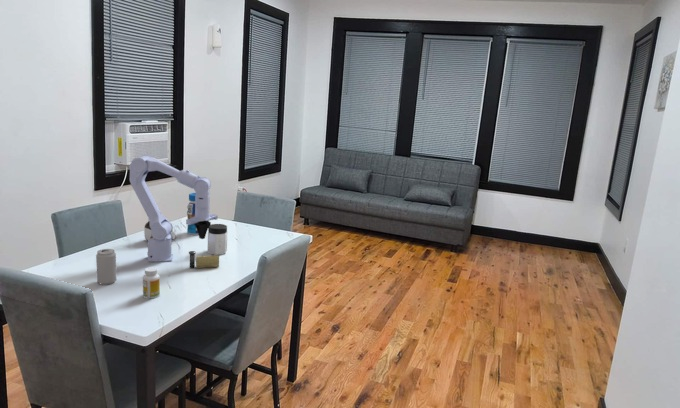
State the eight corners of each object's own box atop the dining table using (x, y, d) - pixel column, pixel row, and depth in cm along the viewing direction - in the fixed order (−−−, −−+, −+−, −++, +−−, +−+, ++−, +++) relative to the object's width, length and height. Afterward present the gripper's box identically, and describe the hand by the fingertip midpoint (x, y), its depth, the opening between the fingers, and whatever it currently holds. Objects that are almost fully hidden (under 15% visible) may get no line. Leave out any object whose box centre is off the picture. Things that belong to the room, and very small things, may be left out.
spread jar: (141, 241, 224) (141, 217, 222) (158, 235, 235) (157, 212, 232) (163, 246, 221) (163, 221, 218) (178, 239, 231) (178, 216, 229)
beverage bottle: (186, 230, 246) (187, 192, 242) (204, 230, 249) (204, 192, 244) (187, 235, 238) (187, 195, 234) (204, 235, 241) (205, 196, 237)
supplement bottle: (161, 292, 172) (161, 267, 170) (156, 299, 167) (156, 272, 164) (146, 291, 172) (145, 266, 169) (140, 298, 166) (140, 271, 164)
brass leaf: (196, 268, 196) (196, 257, 195) (196, 267, 197) (196, 256, 196) (219, 266, 200) (219, 255, 199) (218, 265, 201) (218, 254, 200)
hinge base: (188, 268, 196) (188, 253, 194) (188, 266, 199) (188, 250, 197) (218, 267, 199) (219, 252, 198) (218, 265, 202) (218, 250, 201)
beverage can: (111, 277, 182) (110, 247, 179) (119, 282, 178) (118, 251, 175) (94, 281, 177) (92, 250, 174) (102, 286, 173) (101, 255, 170)
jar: (210, 255, 213) (211, 229, 210) (204, 250, 219) (204, 224, 217) (230, 253, 218) (230, 227, 215) (223, 247, 224) (224, 223, 221)
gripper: (193, 211, 193) (193, 243, 196) (222, 206, 204) (221, 237, 207) (182, 208, 197) (182, 239, 200) (211, 203, 208) (211, 233, 211)
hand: (202, 238), depth 204 cm, fingers closed
